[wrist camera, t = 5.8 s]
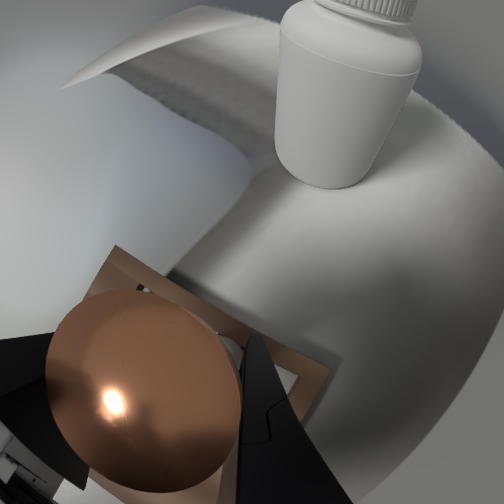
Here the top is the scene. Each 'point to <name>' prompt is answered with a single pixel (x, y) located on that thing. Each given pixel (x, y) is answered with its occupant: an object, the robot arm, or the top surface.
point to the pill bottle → (341, 85)
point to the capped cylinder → (144, 390)
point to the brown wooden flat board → (309, 371)
